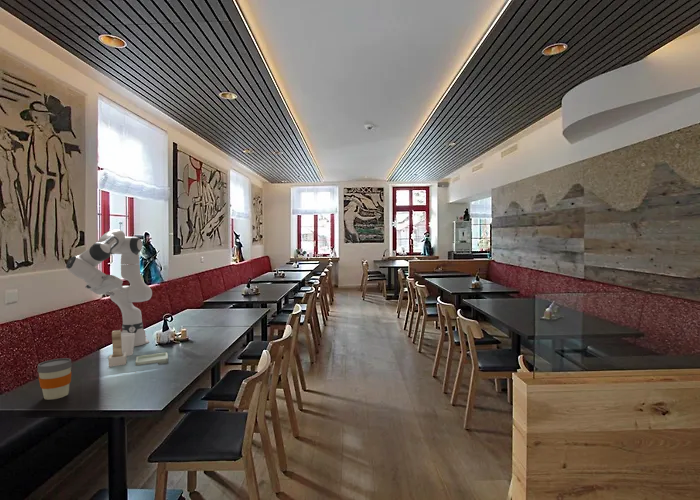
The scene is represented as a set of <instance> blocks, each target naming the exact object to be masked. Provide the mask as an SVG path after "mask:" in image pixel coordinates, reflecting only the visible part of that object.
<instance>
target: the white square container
mask: <svg viewBox="0 0 700 500" xmlns="http://www.w3.org/2000/svg"><path fill="white" fill-rule="evenodd" d="M107 360H108V367H117V366H123V365H124V366H125V365H127V361H128V356H127V354H126V353H122V356H119V357H113V353H112V354H109V356H108V359H107Z"/></svg>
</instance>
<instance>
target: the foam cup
mask: <svg viewBox="0 0 700 500" xmlns="http://www.w3.org/2000/svg"><path fill="white" fill-rule="evenodd" d="M134 338H135V333H123V334H121V342H122V353H126V354H127V357H131V356H132V355H133V354H134V348H135V346H134Z"/></svg>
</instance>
